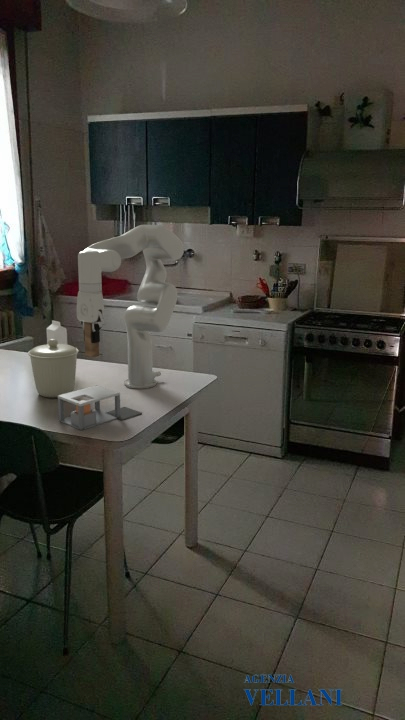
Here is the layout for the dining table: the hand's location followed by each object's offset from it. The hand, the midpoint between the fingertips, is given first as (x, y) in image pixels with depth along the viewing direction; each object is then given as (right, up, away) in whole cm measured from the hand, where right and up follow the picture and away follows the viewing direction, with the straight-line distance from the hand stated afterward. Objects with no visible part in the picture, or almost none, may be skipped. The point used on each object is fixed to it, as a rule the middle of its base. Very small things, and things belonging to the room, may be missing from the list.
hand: (91, 341), depth 201 cm
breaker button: (0, -24, -12) cm, 27 cm away
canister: (-17, -19, +18) cm, 32 cm away
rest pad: (+11, -25, -2) cm, 27 cm away
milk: (-23, -12, +47) cm, 54 cm away
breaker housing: (+1, -26, -7) cm, 27 cm away
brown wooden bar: (0, -5, +1) cm, 5 cm away
